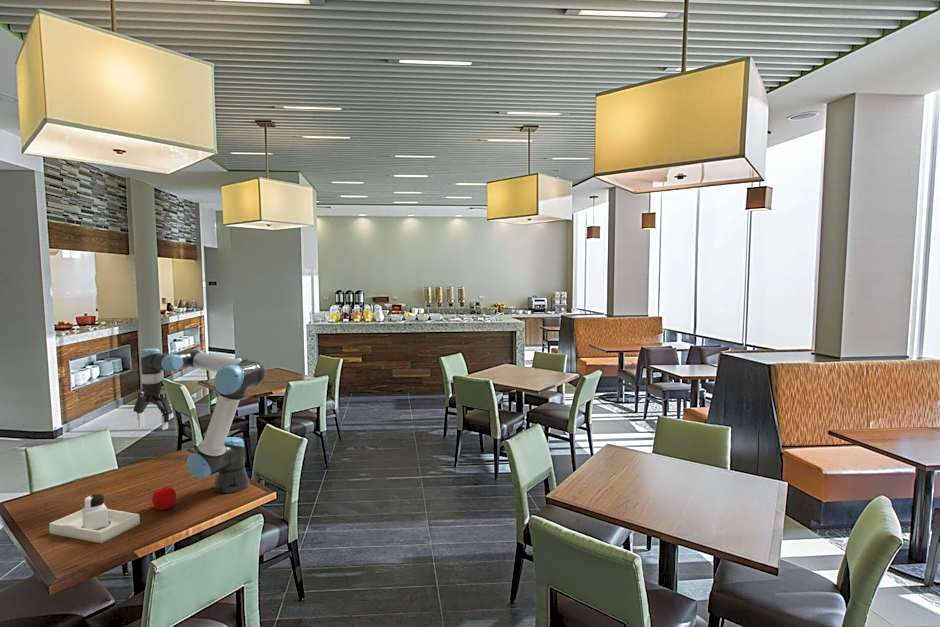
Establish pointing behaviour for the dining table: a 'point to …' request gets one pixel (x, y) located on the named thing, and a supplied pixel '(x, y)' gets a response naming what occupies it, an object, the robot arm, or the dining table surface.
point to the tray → (75, 529)
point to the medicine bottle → (95, 512)
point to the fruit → (164, 498)
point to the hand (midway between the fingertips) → (153, 428)
